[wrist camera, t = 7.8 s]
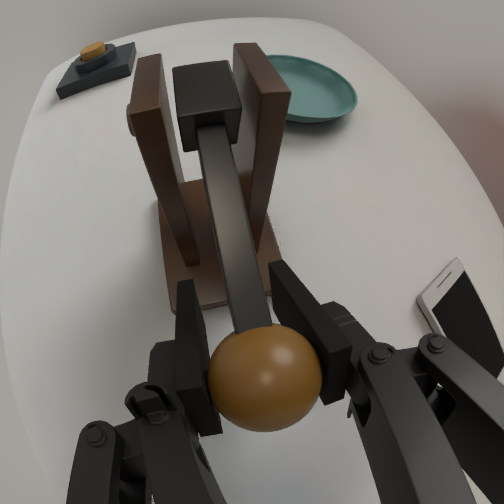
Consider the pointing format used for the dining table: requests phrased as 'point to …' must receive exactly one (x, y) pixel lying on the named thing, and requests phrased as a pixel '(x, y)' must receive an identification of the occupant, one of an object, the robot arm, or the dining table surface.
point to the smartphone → (463, 317)
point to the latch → (241, 269)
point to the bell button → (92, 51)
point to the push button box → (97, 69)
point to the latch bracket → (193, 192)
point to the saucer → (314, 90)
